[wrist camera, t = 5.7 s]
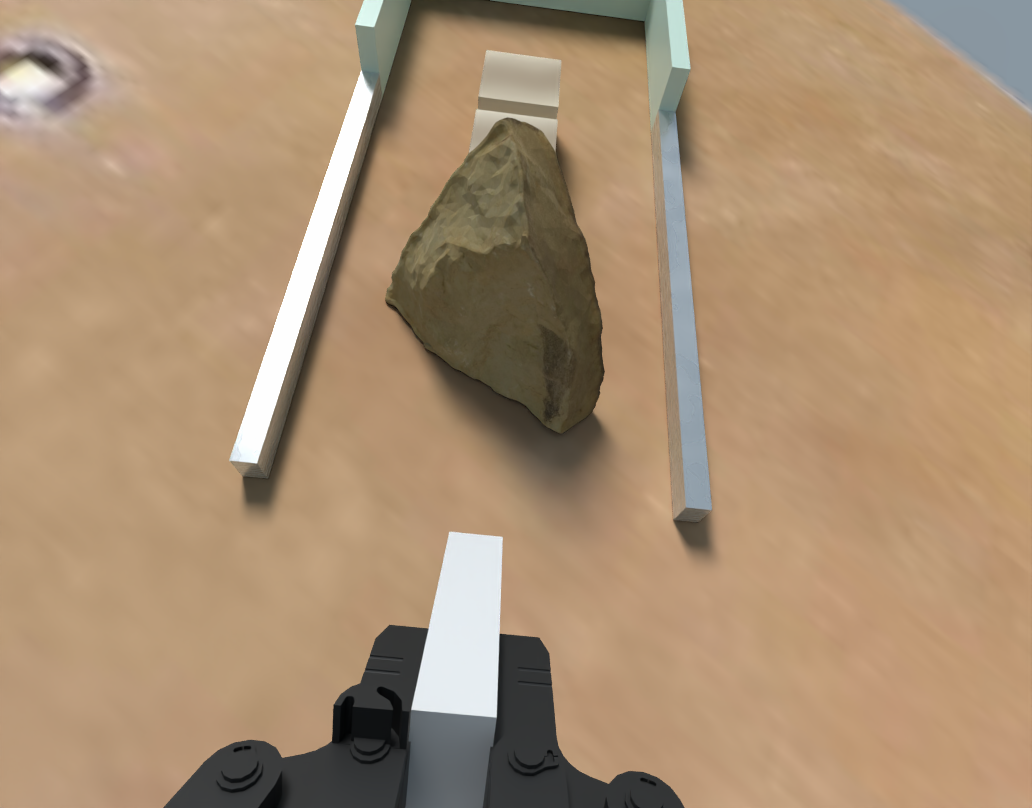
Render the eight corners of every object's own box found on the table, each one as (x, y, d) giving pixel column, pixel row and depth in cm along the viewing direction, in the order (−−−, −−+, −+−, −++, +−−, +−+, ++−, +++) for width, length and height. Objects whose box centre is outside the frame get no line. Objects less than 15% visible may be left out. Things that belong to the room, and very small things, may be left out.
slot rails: (697, 522, 24) (711, 510, 22) (242, 476, 23) (229, 460, 22) (667, 134, 36) (675, 111, 34) (365, 95, 35) (361, 70, 34)
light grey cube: (542, 238, 31) (553, 175, 27) (465, 229, 31) (466, 164, 27) (546, 185, 33) (557, 119, 29) (474, 176, 33) (476, 109, 29)
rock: (677, 396, 24) (606, 206, 27) (606, 343, 17) (521, 94, 20) (469, 479, 28) (428, 305, 31) (343, 464, 21) (306, 242, 24)
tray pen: (667, 134, 36) (690, 69, 32) (365, 95, 35) (355, 24, 31) (658, 15, 42) (676, -50, 38) (402, -20, 41) (397, -90, 38)
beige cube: (547, 173, 33) (558, 107, 30) (475, 163, 33) (478, 96, 30) (550, 127, 35) (561, 60, 32) (483, 118, 35) (486, 50, 32)
